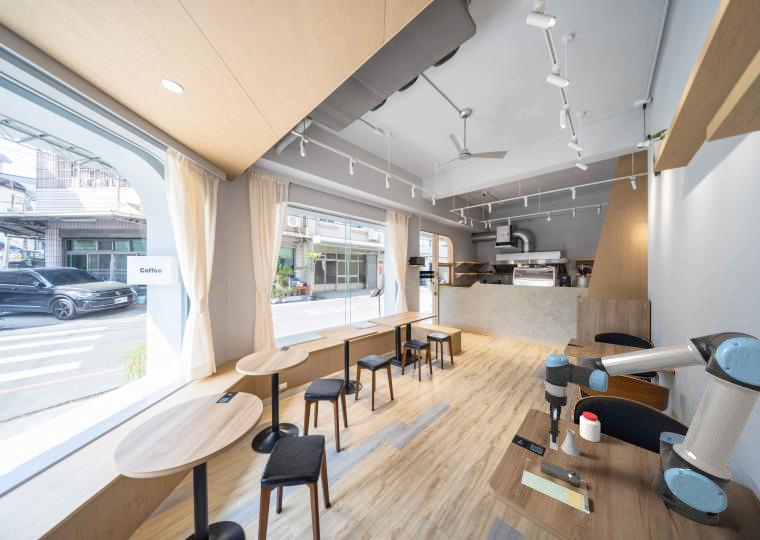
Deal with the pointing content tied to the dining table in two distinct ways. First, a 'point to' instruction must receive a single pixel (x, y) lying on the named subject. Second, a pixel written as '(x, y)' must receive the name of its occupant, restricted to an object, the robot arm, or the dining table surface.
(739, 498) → the dining table surface
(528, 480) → the door panel
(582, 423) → the pill bottle
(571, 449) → the flask
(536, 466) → the board
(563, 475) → the latch bar
